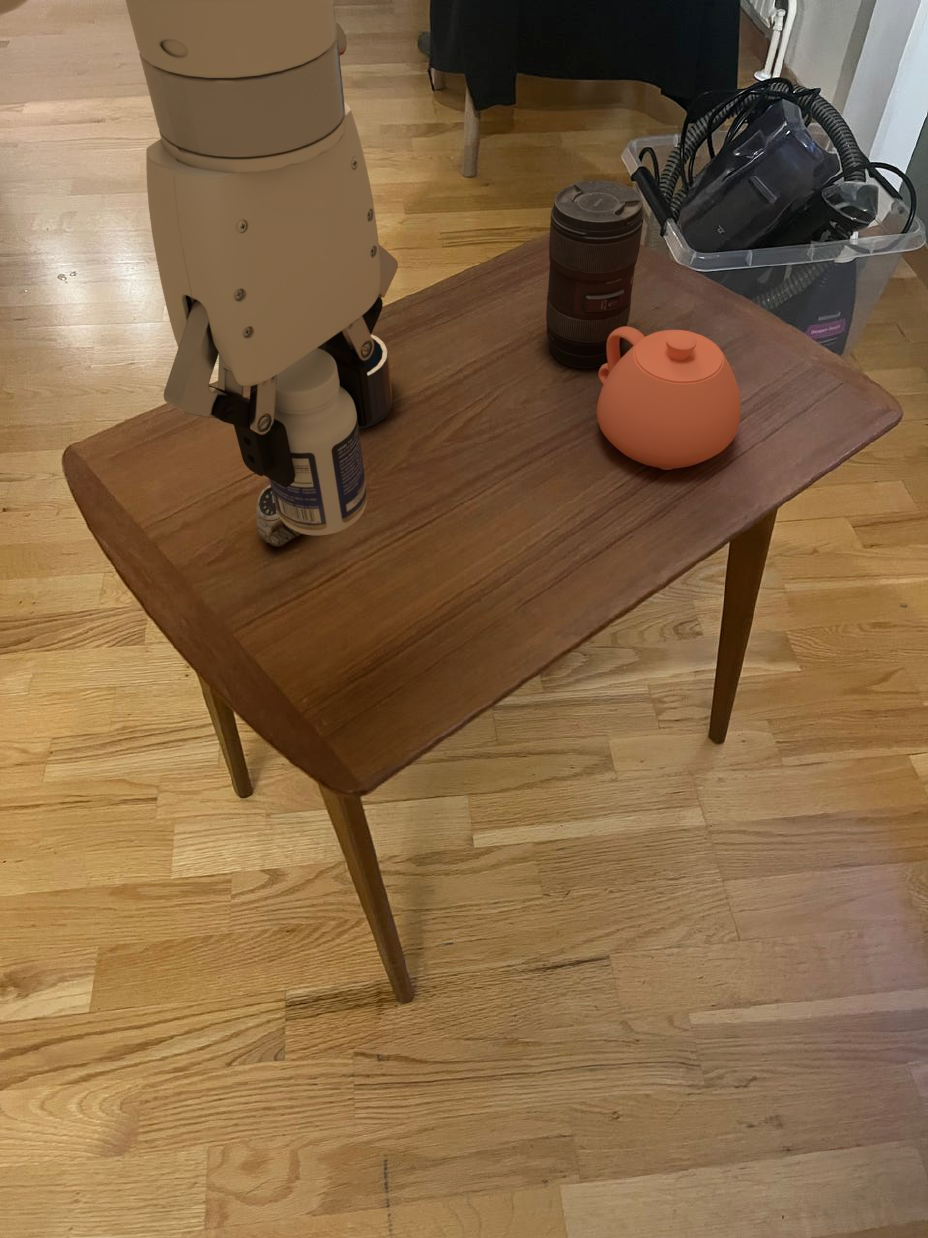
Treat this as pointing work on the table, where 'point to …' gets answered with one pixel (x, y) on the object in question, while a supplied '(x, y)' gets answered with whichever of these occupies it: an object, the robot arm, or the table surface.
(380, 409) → the cup
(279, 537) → the wristwatch
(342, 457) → the pill bottle
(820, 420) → the table surface
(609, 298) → the camera lens
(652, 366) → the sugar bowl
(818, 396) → the table surface
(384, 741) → the table surface
